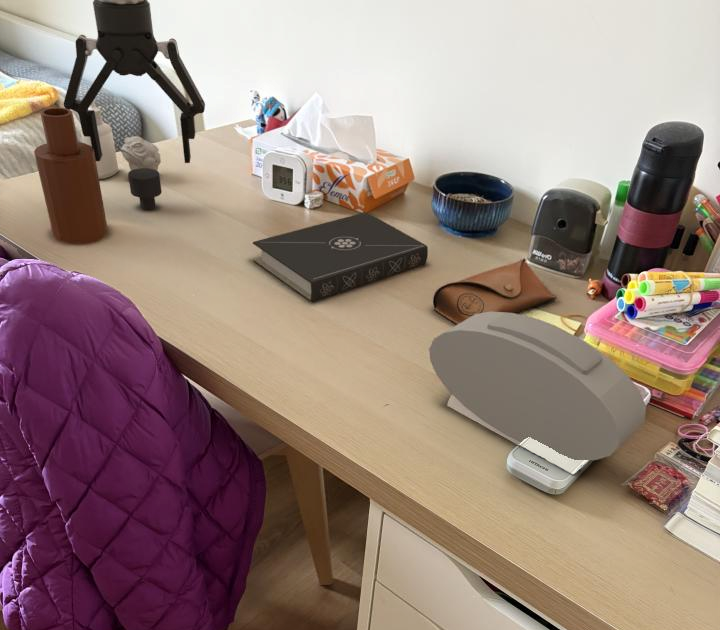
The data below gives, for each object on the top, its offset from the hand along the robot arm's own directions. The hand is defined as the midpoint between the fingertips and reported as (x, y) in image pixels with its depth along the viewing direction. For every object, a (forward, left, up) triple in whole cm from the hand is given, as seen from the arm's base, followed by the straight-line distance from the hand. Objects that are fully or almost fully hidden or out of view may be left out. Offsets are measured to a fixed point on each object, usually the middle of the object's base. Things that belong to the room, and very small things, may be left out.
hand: (143, 159), depth 112 cm
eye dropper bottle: (-9, +14, -8) cm, 19 cm away
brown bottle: (-9, -10, -8) cm, 16 cm away
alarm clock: (+46, -59, -8) cm, 75 cm away
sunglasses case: (+51, -31, -8) cm, 60 cm away
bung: (0, 0, -8) cm, 8 cm away
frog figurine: (-2, +13, -8) cm, 15 cm away
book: (+30, -19, -8) cm, 36 cm away
